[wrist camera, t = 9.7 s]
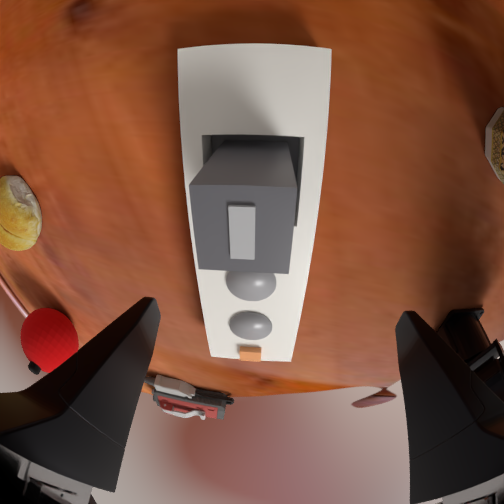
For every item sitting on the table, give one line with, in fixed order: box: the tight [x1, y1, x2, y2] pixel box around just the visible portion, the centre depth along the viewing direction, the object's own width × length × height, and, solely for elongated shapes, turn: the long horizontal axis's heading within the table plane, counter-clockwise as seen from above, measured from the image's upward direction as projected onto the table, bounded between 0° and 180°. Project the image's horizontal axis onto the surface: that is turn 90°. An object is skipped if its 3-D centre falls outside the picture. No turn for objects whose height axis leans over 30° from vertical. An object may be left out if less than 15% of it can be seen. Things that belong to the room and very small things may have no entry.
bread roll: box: [0, 176, 42, 251], centre depth 20 cm, size 8×9×4 cm
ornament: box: [21, 308, 79, 375], centre depth 27 cm, size 9×9×10 cm
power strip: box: [178, 43, 331, 362], centre depth 19 cm, size 8×26×4 cm, turn 0°
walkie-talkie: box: [144, 374, 234, 420], centre depth 37 cm, size 9×4×20 cm
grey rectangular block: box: [189, 141, 297, 274], centre depth 14 cm, size 4×4×8 cm
